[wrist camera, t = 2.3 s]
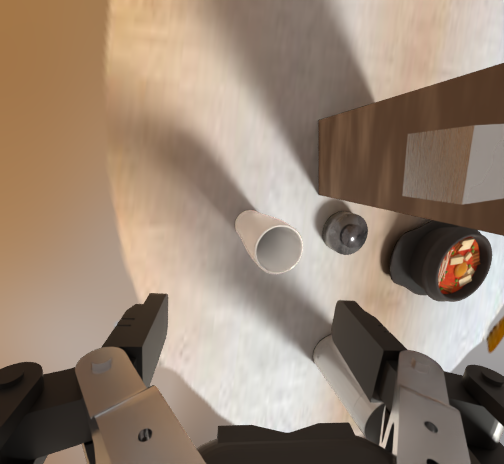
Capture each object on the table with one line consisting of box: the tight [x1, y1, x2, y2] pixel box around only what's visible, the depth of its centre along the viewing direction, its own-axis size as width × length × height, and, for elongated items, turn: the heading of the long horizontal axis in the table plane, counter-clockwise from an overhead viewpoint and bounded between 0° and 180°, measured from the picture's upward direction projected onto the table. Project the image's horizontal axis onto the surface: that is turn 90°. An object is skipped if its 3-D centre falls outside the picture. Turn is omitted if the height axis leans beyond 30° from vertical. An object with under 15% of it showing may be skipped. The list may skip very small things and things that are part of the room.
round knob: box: [323, 211, 368, 255], centre depth 50 cm, size 8×8×4 cm
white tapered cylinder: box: [235, 210, 303, 274], centre depth 39 cm, size 7×7×15 cm
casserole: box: [390, 220, 492, 302], centre depth 56 cm, size 25×19×8 cm
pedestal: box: [319, 63, 504, 236], centre depth 33 cm, size 13×13×32 cm
